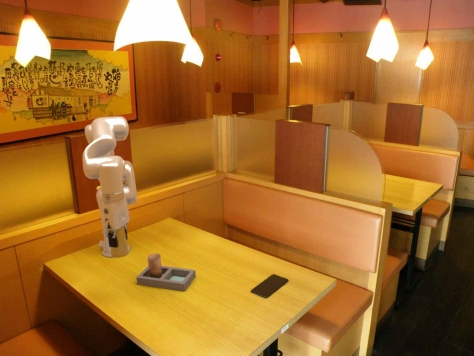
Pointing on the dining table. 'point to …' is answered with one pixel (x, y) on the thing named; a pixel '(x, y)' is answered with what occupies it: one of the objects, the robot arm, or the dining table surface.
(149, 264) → the walnut peg
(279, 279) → the smartphone
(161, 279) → the slot rack
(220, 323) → the dining table surface
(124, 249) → the vase
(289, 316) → the dining table surface
